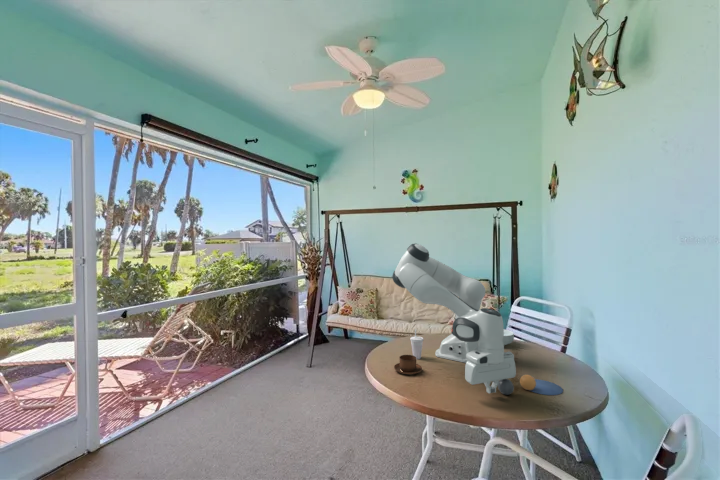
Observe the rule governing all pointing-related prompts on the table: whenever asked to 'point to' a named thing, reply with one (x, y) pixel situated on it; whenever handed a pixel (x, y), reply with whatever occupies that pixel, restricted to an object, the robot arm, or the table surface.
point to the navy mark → (547, 388)
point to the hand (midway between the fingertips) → (491, 392)
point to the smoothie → (416, 346)
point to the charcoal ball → (505, 386)
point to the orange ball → (527, 382)
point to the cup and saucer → (408, 365)
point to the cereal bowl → (508, 337)
